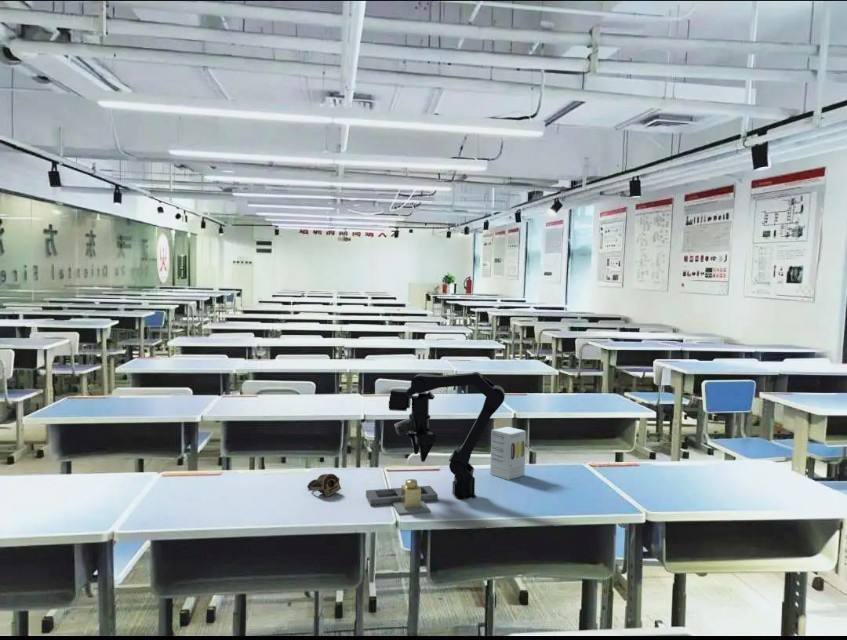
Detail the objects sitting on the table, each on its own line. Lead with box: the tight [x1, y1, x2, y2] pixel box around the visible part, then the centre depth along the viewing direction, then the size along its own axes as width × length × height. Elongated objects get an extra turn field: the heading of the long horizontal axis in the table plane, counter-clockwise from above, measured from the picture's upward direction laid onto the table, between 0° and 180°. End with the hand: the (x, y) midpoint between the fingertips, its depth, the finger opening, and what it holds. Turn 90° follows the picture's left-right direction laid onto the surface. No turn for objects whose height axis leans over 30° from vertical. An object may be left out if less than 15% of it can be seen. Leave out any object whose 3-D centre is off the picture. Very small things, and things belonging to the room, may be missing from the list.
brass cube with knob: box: [401, 478, 422, 509], centre depth 197 cm, size 5×5×8 cm
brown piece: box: [306, 473, 342, 498], centre depth 211 cm, size 7×13×10 cm
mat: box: [391, 500, 432, 516], centre depth 197 cm, size 10×10×1 cm
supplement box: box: [489, 426, 527, 481], centre depth 232 cm, size 10×9×17 cm
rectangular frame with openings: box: [365, 485, 439, 507], centre depth 206 cm, size 22×9×2 cm, turn 105°
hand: (419, 457), depth 211 cm, fingers open, 9 cm apart
